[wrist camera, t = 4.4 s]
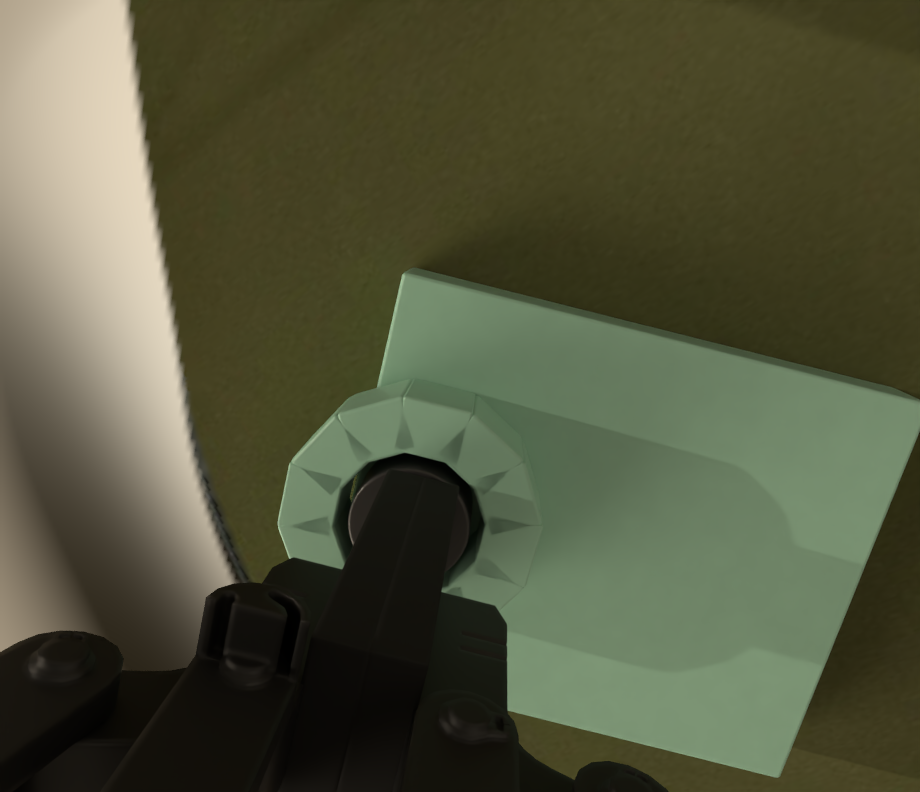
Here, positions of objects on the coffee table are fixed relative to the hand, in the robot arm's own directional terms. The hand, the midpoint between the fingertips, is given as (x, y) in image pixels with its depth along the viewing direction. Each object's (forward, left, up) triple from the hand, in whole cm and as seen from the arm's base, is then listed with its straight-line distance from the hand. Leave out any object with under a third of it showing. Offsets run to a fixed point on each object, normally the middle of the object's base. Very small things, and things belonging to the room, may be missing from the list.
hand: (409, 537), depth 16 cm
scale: (+4, 0, -4) cm, 6 cm away
